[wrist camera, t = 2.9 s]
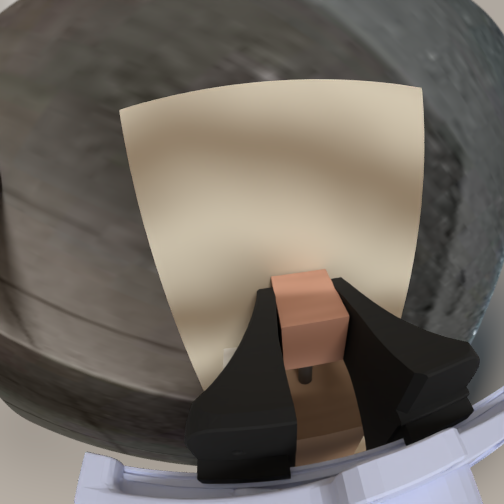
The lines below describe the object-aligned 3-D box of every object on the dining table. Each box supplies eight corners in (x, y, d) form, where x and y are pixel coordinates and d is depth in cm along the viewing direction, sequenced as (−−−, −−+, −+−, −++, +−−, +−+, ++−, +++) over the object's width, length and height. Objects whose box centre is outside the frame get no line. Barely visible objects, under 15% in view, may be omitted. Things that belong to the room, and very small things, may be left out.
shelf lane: (370, 392, 19) (395, 462, 13) (220, 417, 19) (220, 494, 13) (411, 88, 9) (536, 96, 3) (127, 109, 9) (7, 120, 3)
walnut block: (334, 395, 17) (352, 456, 12) (263, 407, 17) (269, 471, 13) (352, 264, 12) (403, 343, 8) (240, 280, 12) (244, 374, 8)
